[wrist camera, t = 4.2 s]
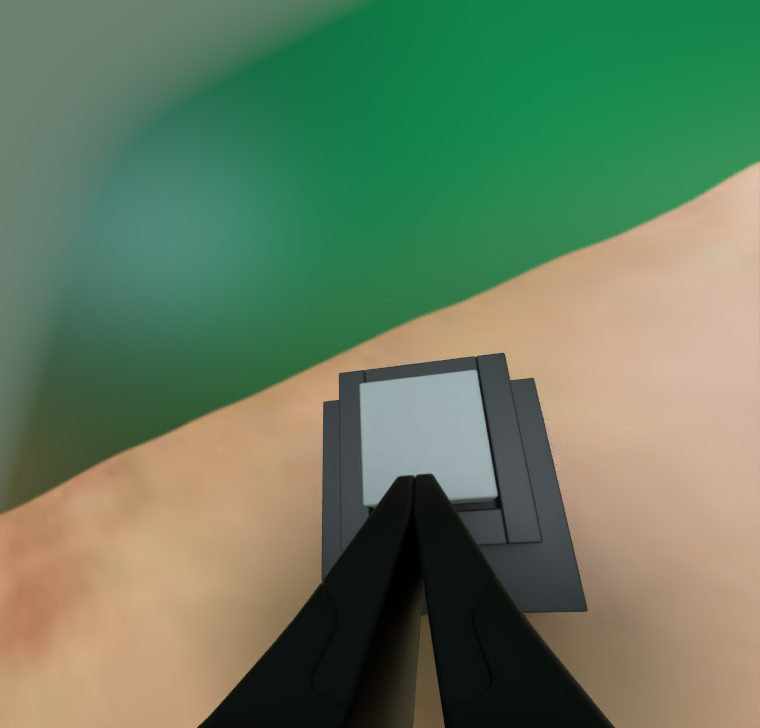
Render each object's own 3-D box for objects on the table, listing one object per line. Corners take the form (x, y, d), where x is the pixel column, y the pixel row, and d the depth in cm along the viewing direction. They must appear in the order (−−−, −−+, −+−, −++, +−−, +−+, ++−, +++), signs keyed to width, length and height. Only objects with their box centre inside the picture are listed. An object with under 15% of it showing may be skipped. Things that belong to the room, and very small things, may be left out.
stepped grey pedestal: (561, 593, 17) (606, 623, 12) (348, 598, 19) (303, 627, 13) (518, 391, 21) (538, 347, 16) (345, 410, 22) (310, 376, 17)
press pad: (492, 501, 14) (498, 497, 12) (377, 508, 15) (362, 506, 13) (474, 391, 16) (476, 368, 14) (372, 402, 17) (358, 382, 14)
